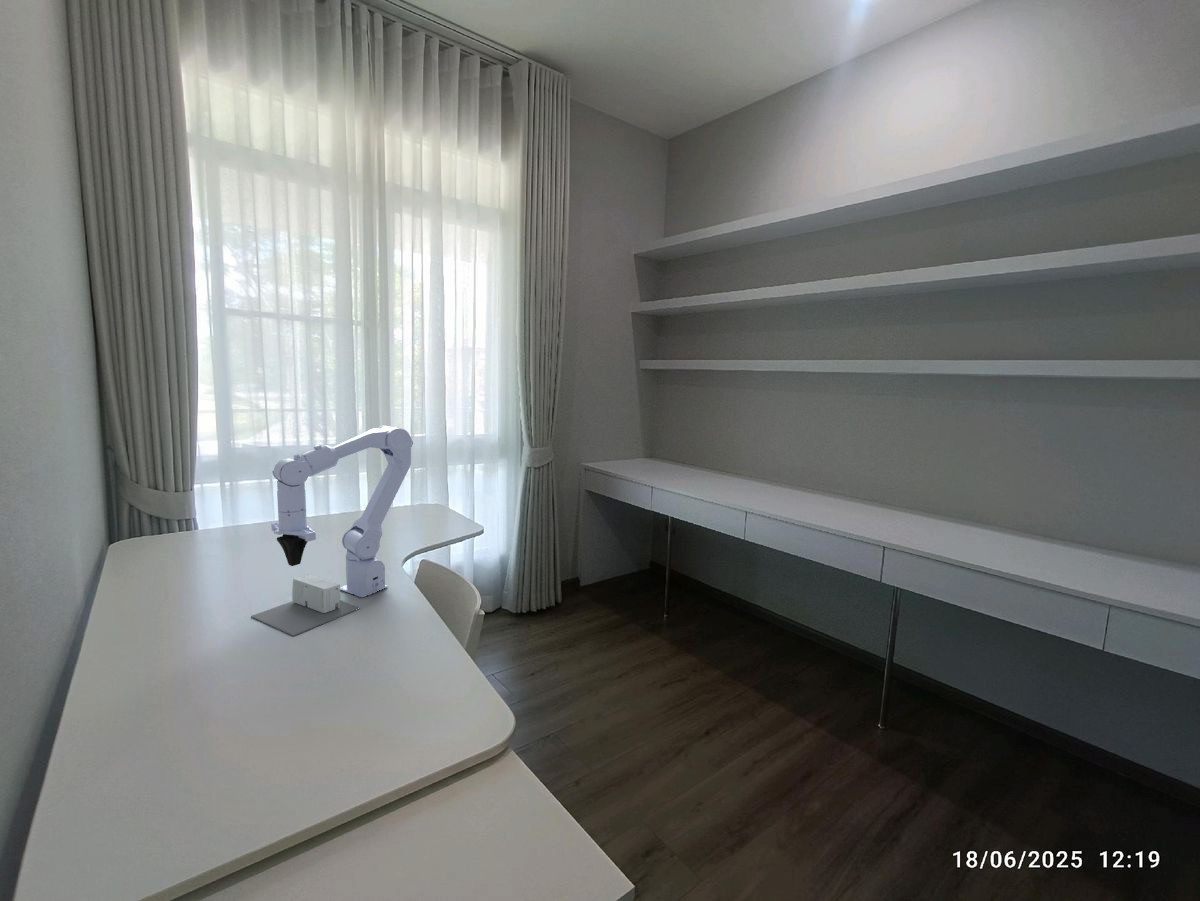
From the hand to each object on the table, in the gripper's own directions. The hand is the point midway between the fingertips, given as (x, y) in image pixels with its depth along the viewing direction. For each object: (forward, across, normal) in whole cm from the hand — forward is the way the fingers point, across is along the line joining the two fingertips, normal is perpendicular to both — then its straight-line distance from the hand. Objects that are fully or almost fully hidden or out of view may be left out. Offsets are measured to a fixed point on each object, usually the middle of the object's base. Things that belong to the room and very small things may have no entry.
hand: (294, 564), depth 122 cm
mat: (+10, +6, -1) cm, 12 cm away
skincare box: (+7, -2, +2) cm, 8 cm away
